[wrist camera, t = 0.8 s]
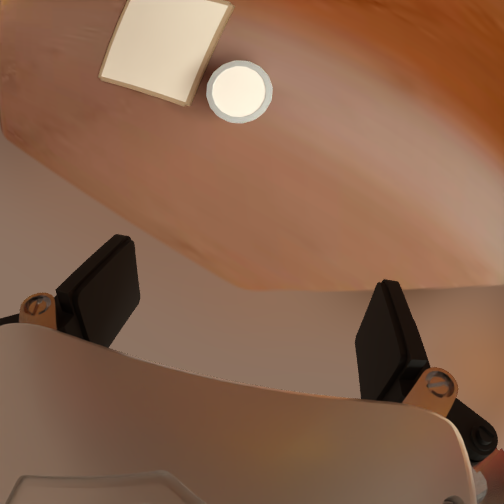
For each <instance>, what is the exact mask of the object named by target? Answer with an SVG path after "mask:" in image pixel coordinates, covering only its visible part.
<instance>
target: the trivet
mask: <svg viewBox="0 0 504 504" xmlns="http://www.w3.org/2000/svg"><path fill="white" fill-rule="evenodd" d="M234 8H235V6H234V5H231V3H230V2H228V1H224V0H127V2H126V4H125V7H124V9H123V11H122V14H121V16H120V18H119V21H118V23H117V25H116V28H115V30H114V33H113V36H112V38H111V41H110V43H109V46H108V49H107V52H106V55H105V57H104V60H103V63H102V66H101V69H100V72H99V76H98V78H101V81H105V82H109V83H112V84H116V85H119V86H123V87H126V88H129V89H133V90H136V91H139V92H142V93H146V94H149V95H152V96H155V97H158V98H161V99H164V100H167V101H170V102H172V103H175V104H178V105H181V106H184V107H185V106H186V105H188V106H191V104H192V101H193V99H194V96H195V94H196V91H197V89H198V86H199V84H200V81H201V79H202V77H203V74H204V72H205V70H206V67H207V65H208V63H209V60H210V58H211V56H212V54H213V51H214V49H215V47H216V45H217V43H218V40H219V38H220V36H221V34H222V32H223V30H224V28H225V26H226V24H227V22H228V20H229V17H230V15H231V13H232V11H233V10H234Z"/></svg>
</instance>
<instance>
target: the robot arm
mask: <svg viewBox="0 0 504 504" xmlns="http://www.w3.org/2000/svg"><path fill="white" fill-rule="evenodd" d="M56 293H57V295H56V296H55V297H53V296H52V295H50V294H48V293H37V294H34V295H31V296H29V297H28V298H26V299H25V300H24V301H23V303H22V304H21V307H20V313H19V314H16V315H12V316H9V317H4V318H1V319H0V504H504V451H503V449H500V450H498V449H497V448H496V447H497V443H498V437H497V434H496V431H495V429H494V428H493V426H491V425H490V424H489V423H488V422H487V421H486V420H484V419H483V418H482V417H480V416H479V415H478V414H476V413H475V412H474V411H472V410H471V409H470V408H468V407H467V406H466V405H465V404H463V403H462V402H461V401H460V400H458V399H457V398H456V396H457V393H458V385H457V382H456V380H455V379H454V377H453V376H452V375H451V374H450V373H449V372H447V371H445V370H444V369H441V368H437V367H433V368H430V365H429V361H428V358H427V355H426V352H425V349H424V346H423V343H422V341H421V337H420V334H419V332H418V329H417V326H416V323H415V321H414V319H413V317H412V315H411V312H410V309H409V307H408V304H407V302H406V299H405V297H404V294H403V292H402V289H401V287H400V284H399V282H397V281H392V280H385V279H384V280H383V281H382V282H381V283H380V282H378V283H377V285H376V287H375V290H374V293H373V295H372V298H371V301H370V303H369V306H368V309H367V311H366V313H365V316H364V319H363V321H362V323H361V326H360V328H359V330H358V333H357V335H356V340H355V347H356V355H357V364H358V372H359V382H360V392H361V399H356V398H345V397H336V396H327V395H318V394H310V393H302V392H295V391H287V390H282V389H275V388H269V387H263V386H258V385H252V384H247V383H241V382H236V381H230V380H226V379H222V378H217V377H212V376H208V375H203V374H199V373H194V372H190V371H187V370H182V369H178V368H175V367H171V366H167V365H164V364H160V363H156V362H152V361H149V360H145V359H142V358H139V357H135V356H132V355H128V354H125V353H122V352H119V351H116V350H113V349H110V348H109V346H110V345H111V343H112V342H113V340H114V339H115V337H116V336H117V334H118V333H119V331H120V330H121V328H122V327H123V325H124V324H125V323H126V321H127V320H128V318H129V317H130V315H131V314H132V312H133V311H134V310H135V308H136V307H137V305H138V304H139V300H140V290H139V282H138V274H137V265H136V255H135V245H134V242H133V241H132V240H131V238H130V237H129V236H124V235H118V234H116V235H114V236H113V237H112V238H111V239H110V240H108V241H107V242H106V243H105V244H104V245H103V246H102V247H100V248H99V249H98V250H97V251H96V252H95V253H94V254H93V255H92V256H91V257H90V258H88V259H87V260H86V261H85V262H84V263H83V264H82V265H81V266H80V267H79V268H78V269H77V270H75V271H74V272H73V273H72V274H71V275H70V276H69V277H68V278H67V279H66V280H65V281H64V282H63V283H62V284H61V285H60V286H59V287H58V288H57V289H56Z"/></svg>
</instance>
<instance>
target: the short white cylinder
mask: <svg viewBox="0 0 504 504" xmlns="http://www.w3.org/2000/svg"><path fill="white" fill-rule="evenodd" d="M272 90H273V88H272V85H271V82H270V79H269V76H268V75H267V74H266V73H265V71H264V70H263V69H262V68H261V67H260V66H258V65H256V64H254V63H251V62H249V61H238V60H235V61H232V62H229V63H226V64H223V65H222V66H220V67H219V68H218V69H217V70H216V71H214V72H213V74H212V76H211V77H210V79H209V81H208V83H207V93H206V97H207V100H208V103H209V106H210V108H211V109H212V110H213V111H214V112H215V114H216V115H217V116H218V117H220V118H222V119H224V120H226V121H228V122H232V123H245V122H249V121H252V120H255V119H256V118H258V117H259V116H260V115H261V114H263V113H264V112H265V111H266V109H267V107H268V106H269V104H270V102H271V100H272Z"/></svg>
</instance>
